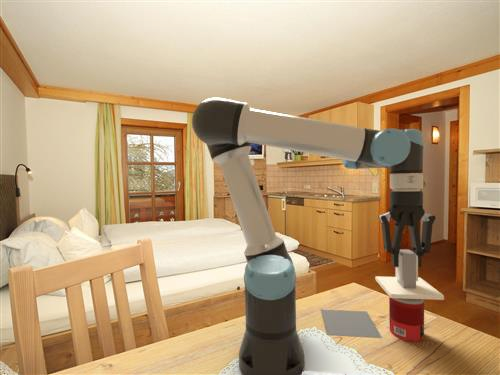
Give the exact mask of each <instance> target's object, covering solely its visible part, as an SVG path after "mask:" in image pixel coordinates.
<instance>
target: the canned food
mask: <svg viewBox="0 0 500 375" xmlns="http://www.w3.org/2000/svg"><path fill="white" fill-rule="evenodd" d="M388 298H389V302H388V303H389V309H388V311H389V317H388V318H389V319H388V320H389V321H388V322H389V332H390V333H391V335H393V336H395V337H396V338H398V339H401V340H403V341H407V342H416V343H417V342H421V341H423V340H424V339H425V299H404V298H390V296H389V295H388Z"/></svg>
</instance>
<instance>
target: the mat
mask: <svg viewBox="0 0 500 375" xmlns="http://www.w3.org/2000/svg"><path fill="white" fill-rule="evenodd" d="M319 311H320V313H321V314H320V315H321V318H322V322H323V325H324V329H325V334H326V336H338V337H354V338H357V337H358V338H359V337H360V338H374V339H376V338H377V339H383V336H382V335H381V333H380V332H379V330H378V328H377V326H376V324H375V323H374V322H373V321H374V320H372V318H371V315H370V314H369V312H368V311H363V310H342V309H341V310H338V309H319Z"/></svg>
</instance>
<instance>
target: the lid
mask: <svg viewBox="0 0 500 375" xmlns="http://www.w3.org/2000/svg"><path fill="white" fill-rule="evenodd" d="M399 254H400V255H402V266H403V281H399V280H398V279H397V278H396V276H380V275H379V276H377V275H376V276H375V277H374V278H375V281H376V282H377V283H378V284H379V286H380V287H381V288H382V289H383V291H384V292H385V293H386V294H387V295H388V297H389V296H390V298H404V299H424V300H432V301H433V300H437V301H441V300H442V301H445V295H444V294H442V293H441V292H440V291H438V290H437V289H436V288H434V287H433V286H432V285H431V284H429V283H428V282H427V281H425V280H424V279H423V278H421V277H419V276H418V281H416V253H414V252H413V250H411V249H406V248H405V249H403V248H402V249H401V248H400V253H399Z"/></svg>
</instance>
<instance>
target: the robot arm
mask: <svg viewBox="0 0 500 375" xmlns="http://www.w3.org/2000/svg"><path fill="white" fill-rule="evenodd" d="M191 126H192V130H193V132H194V134H195V136H196V137H197V138H198V139H199V141H201V142H202V143H204V144H205V145H206V147H207V150H208V152H209V155H210V158H211V161H212V162H213V163H215V164H217V165H219V167H220V170H221V173H222V175H223V179H224V182H225V185H226V188H227V191H228V194H229V196H230V200H231V202H232V205H233V208H234V211H235V213H236V217H237V219H238V223H239V225H240V226H239V227H240V228H241V231H242V235H243V237H244V240H245V243H246V247H245V250H244V251H243V253H244V257H245V259H246V265H245V268H244V274H243V283H244V301H245V302H244V305H245V308H244V310H245V331H244V334H243V336H242V341H241V343H240V344H241V345H240V347H239V351H238V365H239V369H240V370H241V373H242V374H243V375H302V374H303V372H304V367H305V353H304V349H303V346H302V342H301V339H300V337H299V335H298V331H297V309H296V308H297V307H296V306H297V304H296V303H297V302H296V300H297V299H296V297H297V296H296V283H297V274H296V269H295V265H294V262H293V260H292V257H291V256H290V254H289V253H288V249H287V247H286V243H285V242H284V240H283V238H282V237H280V236H277V234H276V232H275V229H274V226H273V223H272V219H271V217H270V214H269V211H268V209H267V208H268V207H267V206H266V203H265V199H264V196H263V194H262V191H261V189H260V185H259V182H258V178H257V176H256V173H255V171H254V167H253V165H252V161H251V159H250V156H249V155H250V152H251V149H252V145H251V144H255V145H260V146H265V147H266V146H268V147H272V148H277V149H283V150H288V151H295V152H300V153H305V154H310V155H318V156H324V157H327V158H333V159H339V160H341V161H342V164H343V167H344V168H345V169H347V170H348V169H350V170H352V169H353V170H354V169H355V170H358V169H359V170H362V169H383V168H384V169H386V168H387V169H388V168H389V188H390V189H391V191H390V192H389V209H388V212H386V213H384V214H379V215H378V216H377V218H378V219H379V221H380V223H381V230H382V231H381V232H382V242H383V250H385V251H386V252H387V253H389V254H391V265H392V266H393V267H394V268H395V274H394V275H395V277H396V278H397V279H398V280H399V281H403V266H402V255H400V254H399V253H400V249H401V245H402V239H403V232H404V230H405V227H406V226H408V227H407V228H408V229H409V234H410V240H411V246H412V252H414V253H416V281H418V277H419V268H422V265H423V264H422V257H424V255H425V254H429V253H431V252H430V251H431V244H432V233H433V224H434V222H435V221H436V219H437V218H436V215H433V214H429V213H427V212H425V209H424V192H423V190H422V189H423V188H424V174H423V172H424V138H423V133H422V131H421V130H420V129H416V128H407V129H397V128H385V129H382V130H379V129H372V128H366V127H365V128H364V127H360V126H356V125H355V126H354V125H349V124H342V123H337V122H331V121H326V120H319V119H313V118H308V117H302V116H297V115H296V116H295V115H290V114H286V113H285V114H283V113H279V112H275V111H274V112H273V111H267V110H262V109H261V110H260V109H256V108H251V106H250V104H248V103H247V102H242V101H237V100H232V99H226V98H222V97H210V98H207V99H205V100H203V101H201V102H200V103H199V104H198V105H197V106H196V107H195V109H194V110H193V113H192V117H191ZM390 218H391V219H392V220H393V221H394V225H393V226H394V229H393V235H392V234H391V226H390V223H389V222H390V221H391V219H390ZM421 219H422V225H421V226H422V228H421V236H420V231H419V229H420V226H419V222H420V221H421ZM391 235H392V236H393V237H392V236H391ZM391 237H392V238H391ZM420 237H421V238H420Z"/></svg>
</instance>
